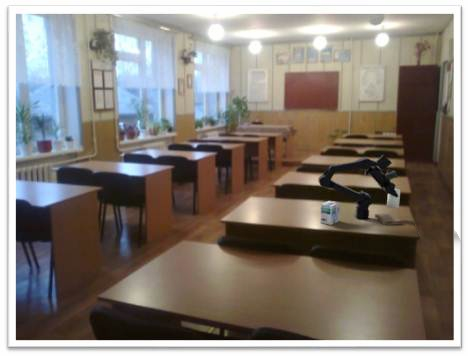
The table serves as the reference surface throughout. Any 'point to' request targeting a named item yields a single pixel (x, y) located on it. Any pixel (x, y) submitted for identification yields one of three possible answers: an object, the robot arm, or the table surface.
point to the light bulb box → (330, 212)
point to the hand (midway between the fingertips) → (396, 195)
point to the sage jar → (393, 200)
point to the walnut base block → (388, 219)
